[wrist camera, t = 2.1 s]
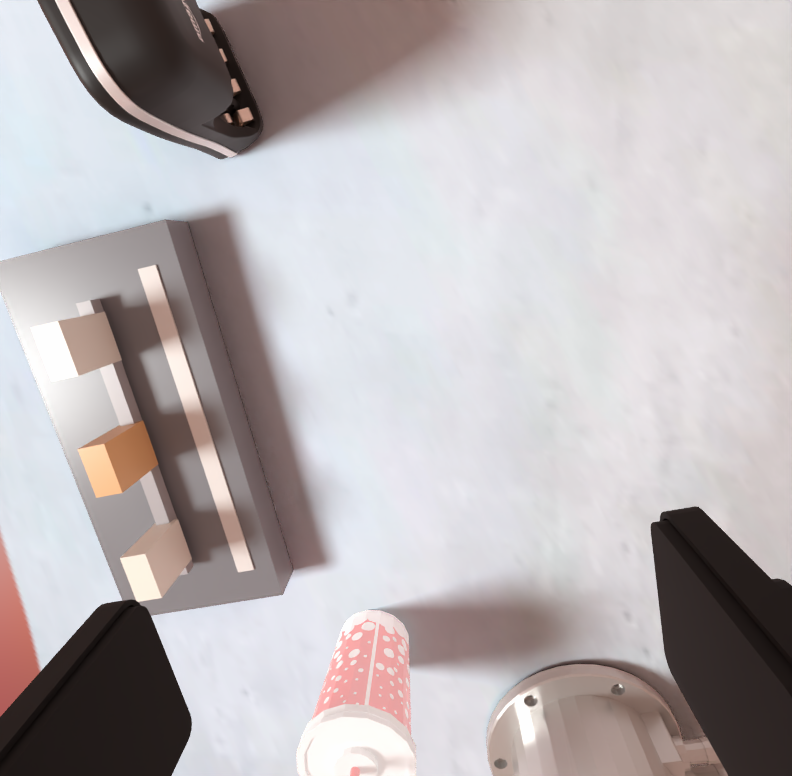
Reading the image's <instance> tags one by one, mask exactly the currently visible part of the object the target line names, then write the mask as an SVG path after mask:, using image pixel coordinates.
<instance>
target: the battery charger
mask: <svg viewBox="0 0 792 776" xmlns="http://www.w3.org/2000/svg"><path fill="white" fill-rule="evenodd" d="M37 1H38V3H39V5H40V7H41V9H42V11H43V13H44V15H45V17H46V18H47V20H48V22H49V24H50V26H51V28H52V30H53V32H54V34H55V36H56V37H57V39H58V41H59V43H60V45H61V47H62V49H63V51H64V53H65V55H66V56H67V58H68V60H69V62H70V64H71V66H72V67H73V69H74V71H75V73H76V74H77V76H78V78H79V80H80V81H81V82H82V84H83V85H84V87H85V88H86V89H87V91H88V92H89V94H90V95H91V96H92V97H93V98H94V99H95V100H96V101H97V103H98V104H99V105H100V106H102V107H103V108H104V109H105V110H106V111H107V112H109V113H110V114H111V115H113V116H114V117H116V118H118V119H119V120H121V121H123V122H125V123H127V124H129V125H131V126H134V127H136V128H138V129H140V130H143V131H145V132H147V133H150V134H152V135H155V136H157V137H160V138H163V139H165V140H168V141H171V142H175V143H178V144H181V145H184V146H188V147H191V148H194V149H197V150H200V151H202V152H204V153H207V154H209V155H211V156H214V157H216V158H218V159H224V158H227V157H233V156H235V155H237V152H239V151H241V150H243V149H245V148H247V147H248V146H249V145H250V144H251V143H253V142H254V141H255V140H256V139H257V138H258V136H259V135H260V133H261V131H262V127H263V122H262V117H261V114H260V111H259V109H258V106H257V104H256V102H255V99H254V97H253V95H252V93H251V90H250V88H249V86H248V84H247V82H246V79H245V77H244V75H243V73H242V70H241V68H240V66H239V64H238V61H237V59H236V57H235V55H234V53H233V50H232V48H231V46H230V44H229V42H228V39H227V37H226V35H225V33H224V31H223V29H222V27H221V25H220V24H219V22H218V20H217V19H216V18H215V17H214V16H213V15H212V14H210V13H208V12H206V11H204V10H202V9H199V7H198V5H197V3H196V0H37Z"/></svg>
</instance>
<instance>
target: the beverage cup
mask: <svg viewBox="0 0 792 776" xmlns="http://www.w3.org/2000/svg"><path fill="white" fill-rule="evenodd" d="M296 757H297V772H298V774H299V775H300V776H416V745H415V743H414V741H413V739H412V737H411V712H410V670H409V635H408V633H407V631H406V628H405V626H404V624H403V623H402V622H400V621H399V620H398V619H397V618H396V617H395V616H394V615H391V614H389V613H386V612H384V611H381V610H365V611H362V612H359V613H356V614H354V615H353V616H352V617H350V618H349V619H348V620H347V621H346V622H345V624H344V626H343V628H342V630H341V633H340V636H339V639H338V642H337V645H336V648H335V651H334V654H333V657H332V660H331V663H330V666H329V669H328V672H327V675H326V678H325V681H324V684H323V687H322V690H321V693H320V696H319V700H318V703H317V706H316V709H315V712H314V715H313V718H312V720H311V721H310V722H308V724H307V726H306V729H305V731H304V733H303V735H302V737H301V741H300V744H299V746H298V748H297V752H296Z"/></svg>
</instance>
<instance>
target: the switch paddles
mask: <svg viewBox="0 0 792 776" xmlns="http://www.w3.org/2000/svg"><path fill="white" fill-rule="evenodd" d="M76 306H77V308H78V311H79V314H80V317H76V318H71V319H66V320H61V321H56V322H52V323H47V324H43V325H39V326H35V327H30V328H31V331H32V334H33V336H34V339H35V341H36V344H37V346H38V349H39V352H40V354H41V357H42V359H43V362H44V364H45V367H46V370H47V372H48V375H49V377H50V380H51V382H53V381H58V380H63V379H67V378H72V377H76V376H80V375H83V374H85V373H88V372H91V371H94V370H96V369H100V372H101V374H102V377H103V380H104V383H105V385H106V388H107V391H108V394H109V396H110V399H111V402H112V404H113V407H114V410H115V413H116V415H117V418H118V421H119V424H120V425H119V426H117V427H115V428H114V429H112V430H110V431H108V432H107V433H105V434H103V435H101V436H100V437H98V438H96V439H94V440H93V441H91V442H89V443H87V444H86V445H84V446H82V447H80V448H79V449H78V452H79V455H80V457H81V460H82V462H83V465H84V467H85V470H86V473H87V475H88V478H89V480H90V483H91V485H92V488H93V491H94V493H95V496H96V498H98V497H104V496H109V495H114V494H120V493H123V492H124V491H126V490H127V489H128V488H129V487H131V486H132V485H133V484H134V483H136V482H137V481H138V480H139V479H140V481H141V484H142V487H143V490H144V492H145V495H146V498H147V501H148V503H149V506H150V509H151V512H152V514H153V517H154V520H155V524H154V525H153V526H152V527H151V528H150V529H149V530H148V531H147V532H146V533H145V534H144V535H143V536H142V537H141V538H140V539H139V540H138V541H137V542H136V543H135V544H134V545H133V546H132V547H131V548H130V549H129V550H128V551H127V552H126V553H125V554H124V555H123V556H122V557H121V558H120V560H121V563H122V565H123V568H124V570H125V573H126V575H127V578H128V581H129V583H130V586H131V588H132V591H133V593H134V596H135V599H136V601H137V602H140V601H146V600H153V599H159V598H162V597H163V596H164V594H165V593H166V592H167V591H168V589H169V588H170V587H171V585H172V584H173V583H174V581H175V580H176V579H177V578H178V576H179V575H185V574H188V573H189V572H190V571H191V569H192V568H193V566H194V565H193V562H192V557H191V554H190V552H189V549H188V546H187V543H186V540H185V537H184V535H183V532H182V529H181V526H180V523H179V520H178V519H177V517H176V514H175V511H174V508H173V506H172V503H171V500H170V497H169V494H168V491H167V489H166V486H165V483H164V480H163V477H162V474H161V472H160V469H159V466H158V461H157V458H156V455H155V452H154V450H153V447H152V444H151V441H150V438H149V435H148V433H147V430H146V427H145V424H144V421H143V420H142V418H141V415H140V412H139V409H138V406H137V404H136V401H135V398H134V395H133V392H132V389H131V387H130V384H129V381H128V378H127V375H126V372H125V370H124V367H123V364H122V361H121V360H122V359H121V356H120V353H119V350H118V347H117V345H116V342H115V339H114V336H113V333H112V330H111V328H110V325H109V322H108V319H107V316H106V313H105V312H104V310H103V307H102V304H101V302H100V299H95V300H89V301H85V302H81V303H76Z"/></svg>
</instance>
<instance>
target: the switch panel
mask: <svg viewBox="0 0 792 776" xmlns="http://www.w3.org/2000/svg"><path fill="white" fill-rule="evenodd" d="M0 292H1V294H2V297H3V300H4V302H5V305H6V307H7V310H8V312H9V315H10V317H11V320H12V322H13V325H14V327H15V330H16V332H17V335H18V337H19V340H20V342H21V345H22V348H23V350H24V353H25V355H26V358H27V360H28V363H29V365H30V368H31V370H32V373H33V375H34V378H35V380H36V383H37V385H38V388H39V390H40V393H41V396H42V398H43V401H44V403H45V406H46V408H47V411H48V413H49V416H50V418H51V421H52V423H53V426H54V428H55V431H56V433H57V436H58V438H59V441H60V444H61V446H62V449H63V451H64V454H65V456H66V459H67V461H68V464H69V466H70V469H71V471H72V474H73V476H74V479H75V481H76V484H77V487H78V489H79V492H80V494H81V497H82V499H83V502H84V504H85V507H86V509H87V512H88V514H89V517H90V519H91V522H92V524H93V527H94V529H95V532H96V535H97V537H98V540H99V542H100V545H101V547H102V550H103V552H104V555H105V557H106V560H107V562H108V565H109V567H110V570H111V572H112V575H113V577H114V580H115V583H116V585H117V588H118V590H119V593H120V595H121V598H122V600H123V601H124V600H130V599H133V600H136V599H135V596H134V593H133V591H132V588H131V586H130V583H129V581H128V578H127V575H126V573H125V570H124V568H123V565H122V563H121V560H120V558H121V557H122V556H123V555H124V554H125V553H126V552H127V551H128V550H129V549H130V548H131V547H132V546H133V545H134V544H135V543H136V542H137V541H138V540H139V539H140V538H141V537H142V536H143V535H144V534H145V533H146V532H147V531H148V530H149V529H150V528H151V527H152V526H153V525H154V524H155V520H154V517H153V514H152V512H151V509H150V506H149V503H148V501H147V498H146V495H145V492H144V490H143V487H142V484H141V481H140V479H139V480H138V481H137V482H136V483H134V484H133V485H132V486H131V487H129V488H128V489H127V490H126V491H124V492H123V493H120V494H114V495H109V496H104V497H98V498H96V496H95V493H94V491H93V488H92V485H91V483H90V480H89V478H88V475H87V473H86V470H85V467H84V465H83V462H82V460H81V457H80V455H79V452H78V449H79V448H80V447H82V446H84V445H86V444H87V443H89V442H91V441H93V440H94V439H96V438H98V437H100V436H101V435H103V434H105V433H107V432H108V431H110V430H112V429H114V428H115V427H117V426H119V425H120V424H119V421H118V418H117V415H116V413H115V410H114V407H113V404H112V402H111V399H110V396H109V394H108V391H107V388H106V385H105V383H104V380H103V377H102V374H101V372H100V369H96V370H94V371H91V372H88V373H85V374H83V375H80V376H76V377H72V378H67V379H63V380H58V381H53V382H51V380H50V377H49V375H48V372H47V370H46V367H45V364H44V362H43V359H42V357H41V354H40V352H39V349H38V346H37V344H36V341H35V339H34V336H33V334H32V331H31V328H30V327H35V326H39V325H43V324H47V323H52V322H56V321H61V320H66V319H71V318H76V317H80V314H79V311H78V308H77V306H76V303H81V302H85V301H89V300H95V299H100V302H101V304H102V307H103V310H104V312H105V313H106V316H107V319H108V322H109V325H110V328H111V330H112V333H113V336H114V339H115V342H116V345H117V347H118V350H119V353H120V356H121V359H122V360H121V361H122V364H123V367H124V370H125V372H126V375H127V378H128V381H129V384H130V387H131V389H132V392H133V395H134V398H135V401H136V404H137V406H138V409H139V412H140V415H141V418H142V420H143V421H144V424H145V427H146V430H147V433H148V435H149V438H150V441H151V444H152V447H153V450H154V452H155V455H156V458H157V461H158V466H159V469H160V472H161V474H162V477H163V480H164V483H165V486H166V489H167V491H168V494H169V497H170V500H171V503H172V506H173V508H174V511H175V514H176V517H177V519H178V520H179V523H180V526H181V529H182V532H183V535H184V537H185V540H186V543H187V546H188V549H189V552H190V554H191V557H192V562H193V565H194V566H193V568H192V569H191V571H190V572H189V573H188V574H185V575H179V576H178V578H177V579H176V580H175V581H174V583H173V584H172V585H171V587H170V588H169V589H168V591H167V592H166V593H165V594H164V596H163V597H162V598H159V599H153V600H146V601H140V602H139V603H140V605H141V606H145V607H146V608H147V609H148V611H149V613H150V615H157V614H164V613H170V612H176V611H183V610H189V609H195V608H202V607H208V606H214V605H221V604H227V603H233V602H240V601H246V600H252V599H259V598H265V597H271V596H278V595H283V593H284V591H285V588H286V586H287V584H288V581H289V579H290V577H291V574H292V572H293V568H292V565H291V562H290V558H289V555H288V552H287V548H286V545H285V542H284V538H283V535H282V532H281V529H280V525H279V522H278V519H277V515H276V512H275V509H274V506H273V502H272V499H271V496H270V492H269V489H268V486H267V482H266V479H265V476H264V473H263V469H262V466H261V463H260V459H259V456H258V453H257V449H256V446H255V443H254V440H253V436H252V433H251V430H250V426H249V423H248V420H247V416H246V413H245V410H244V407H243V403H242V400H241V397H240V393H239V390H238V387H237V384H236V380H235V377H234V374H233V370H232V367H231V364H230V360H229V357H228V354H227V351H226V347H225V344H224V341H223V337H222V334H221V331H220V327H219V324H218V321H217V318H216V314H215V311H214V308H213V304H212V301H211V298H210V295H209V291H208V288H207V285H206V281H205V278H204V275H203V271H202V268H201V265H200V262H199V258H198V255H197V252H196V248H195V245H194V242H193V238H192V235H191V232H190V229H189V225H188V222H184V221H174V220H162V221H158V222H154V223H150V224H146V225H142V226H138V227H134V228H130V229H126V230H122V231H118V232H114V233H110V234H106V235H102V236H98V237H94V238H90V239H86V240H82V241H78V242H74V243H70V244H67V245H63V246H59V247H55V248H51V249H47V250H43V251H39V252H35V253H31V254H27V255H23V256H19V257H15V258H11V259H7V260H3V261H0Z"/></svg>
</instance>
